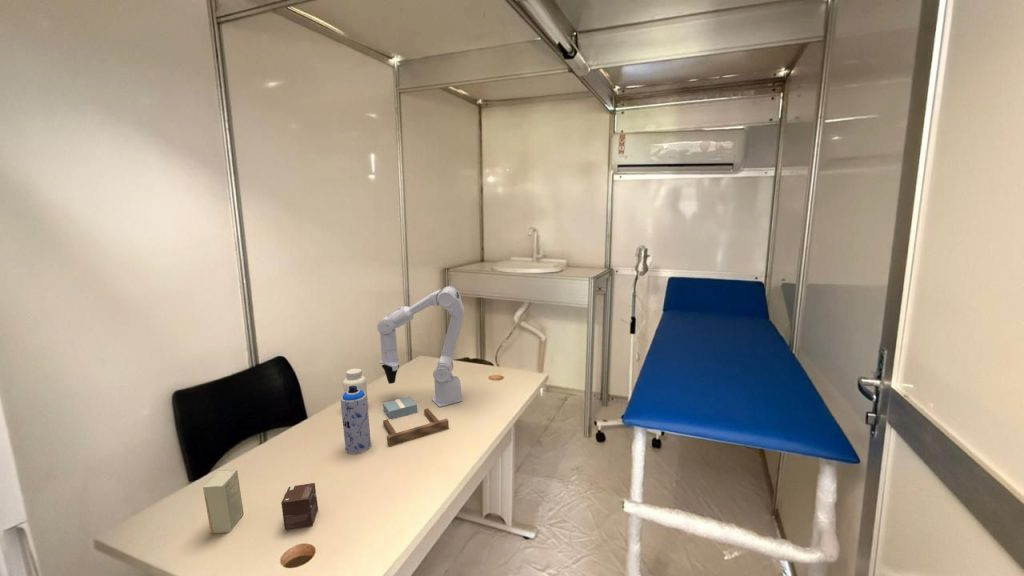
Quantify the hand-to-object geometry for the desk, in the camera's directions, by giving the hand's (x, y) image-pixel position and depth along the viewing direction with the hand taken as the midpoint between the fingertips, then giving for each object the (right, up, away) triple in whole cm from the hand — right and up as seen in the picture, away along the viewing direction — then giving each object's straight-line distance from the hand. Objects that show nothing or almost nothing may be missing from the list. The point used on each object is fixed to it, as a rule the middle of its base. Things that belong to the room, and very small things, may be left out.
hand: (391, 382), depth 158 cm
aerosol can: (-2, -14, -29) cm, 32 cm away
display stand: (+12, -11, -18) cm, 25 cm away
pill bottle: (-12, -9, -4) cm, 15 cm away
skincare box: (-21, -20, -60) cm, 67 cm away
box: (-4, -19, -59) cm, 62 cm away
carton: (+5, -9, -6) cm, 13 cm away
